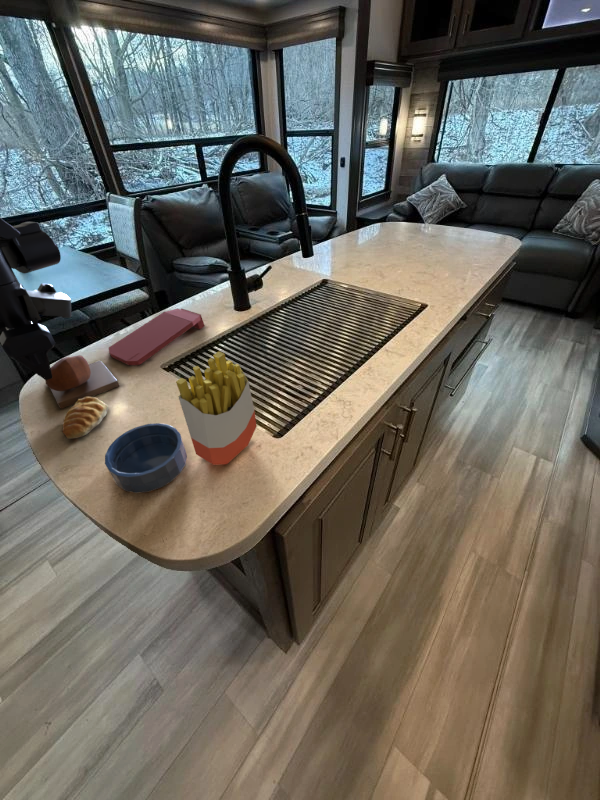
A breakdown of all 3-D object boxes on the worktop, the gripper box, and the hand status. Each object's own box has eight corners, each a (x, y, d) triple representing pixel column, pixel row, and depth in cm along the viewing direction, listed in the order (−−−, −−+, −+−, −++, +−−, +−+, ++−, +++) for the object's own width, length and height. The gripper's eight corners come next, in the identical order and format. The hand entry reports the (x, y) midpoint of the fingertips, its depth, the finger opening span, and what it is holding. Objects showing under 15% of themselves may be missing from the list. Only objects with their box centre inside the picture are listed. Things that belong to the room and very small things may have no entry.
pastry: (92, 440, 62) (84, 425, 60) (55, 442, 62) (45, 427, 59) (111, 408, 69) (104, 393, 67) (78, 410, 69) (70, 395, 67)
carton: (141, 378, 84) (209, 327, 98) (132, 363, 80) (204, 312, 94) (113, 364, 89) (181, 318, 103) (103, 350, 86) (175, 303, 99)
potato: (103, 379, 75) (92, 355, 71) (62, 402, 69) (47, 376, 65) (85, 371, 78) (73, 347, 74) (44, 391, 72) (29, 366, 68)
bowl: (130, 508, 51) (119, 490, 48) (105, 464, 58) (95, 446, 55) (199, 467, 57) (194, 449, 54) (169, 431, 64) (163, 414, 61)
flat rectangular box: (61, 409, 69) (57, 403, 68) (48, 384, 76) (45, 379, 76) (119, 386, 76) (117, 380, 75) (103, 365, 83) (100, 360, 82)
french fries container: (259, 437, 62) (248, 354, 51) (217, 475, 55) (194, 389, 44) (241, 427, 64) (227, 345, 53) (198, 463, 57) (172, 378, 46)
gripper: (69, 285, 50) (106, 372, 59) (41, 260, 61) (77, 337, 70) (-25, 304, 44) (34, 398, 53) (-36, 273, 55) (14, 355, 64)
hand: (43, 368), depth 60 cm, fingers open, 9 cm apart
